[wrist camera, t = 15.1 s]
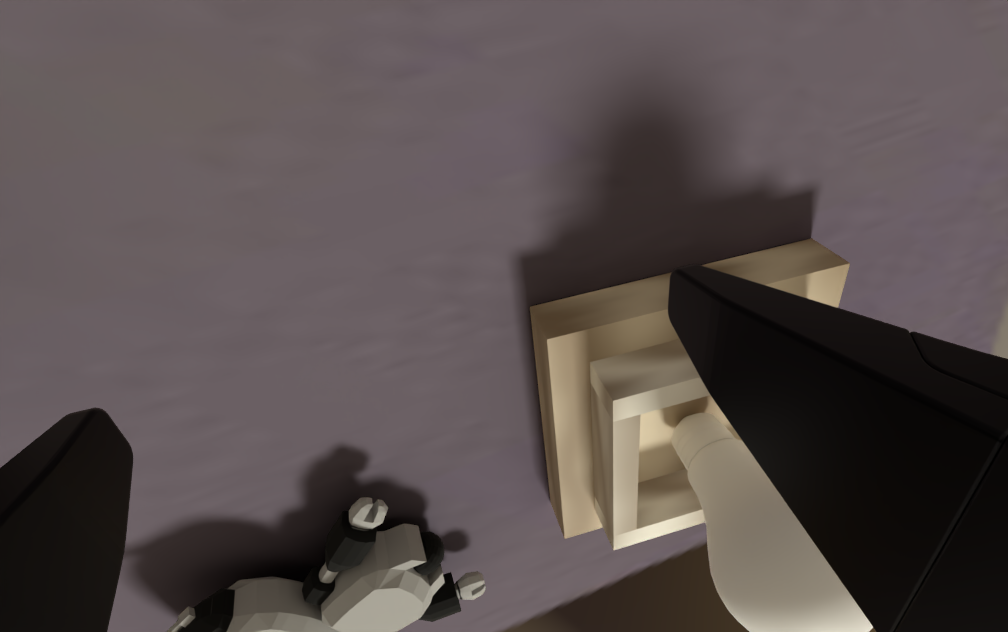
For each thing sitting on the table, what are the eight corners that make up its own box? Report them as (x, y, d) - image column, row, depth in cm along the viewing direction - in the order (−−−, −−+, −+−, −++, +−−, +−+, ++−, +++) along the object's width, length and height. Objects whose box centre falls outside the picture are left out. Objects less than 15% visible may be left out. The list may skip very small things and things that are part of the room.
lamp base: (550, 502, 34) (580, 580, 30) (529, 306, 26) (567, 378, 22) (766, 439, 36) (822, 504, 32) (811, 238, 27) (894, 292, 23)
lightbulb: (620, 474, 30) (750, 706, 21) (640, 383, 26) (804, 615, 17) (725, 452, 31) (887, 662, 22) (756, 364, 28) (962, 570, 19)
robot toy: (361, 445, 29) (126, 610, 30) (372, 516, 25) (104, 702, 26) (485, 545, 36) (294, 676, 37) (508, 611, 33) (295, 755, 33)
